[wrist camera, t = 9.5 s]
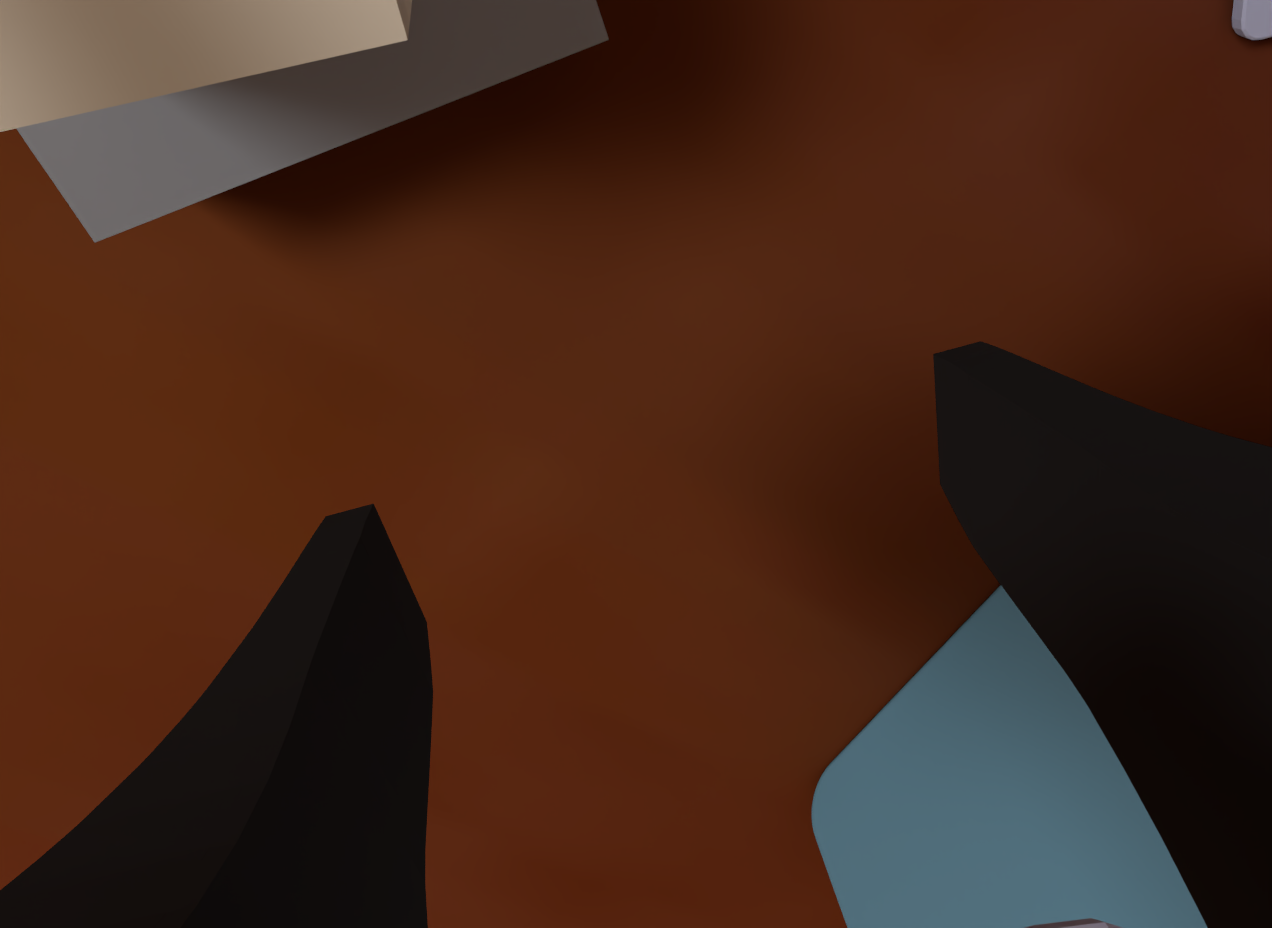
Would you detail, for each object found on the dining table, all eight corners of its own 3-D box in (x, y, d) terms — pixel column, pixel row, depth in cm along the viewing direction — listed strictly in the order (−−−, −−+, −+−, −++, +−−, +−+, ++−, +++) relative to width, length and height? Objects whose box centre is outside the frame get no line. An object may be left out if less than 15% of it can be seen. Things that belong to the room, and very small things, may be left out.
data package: (897, 826, 35) (1076, 1234, 25) (795, 793, 34) (946, 1219, 24) (1155, 577, 31) (1498, 958, 21) (1053, 522, 29) (1376, 912, 19)
